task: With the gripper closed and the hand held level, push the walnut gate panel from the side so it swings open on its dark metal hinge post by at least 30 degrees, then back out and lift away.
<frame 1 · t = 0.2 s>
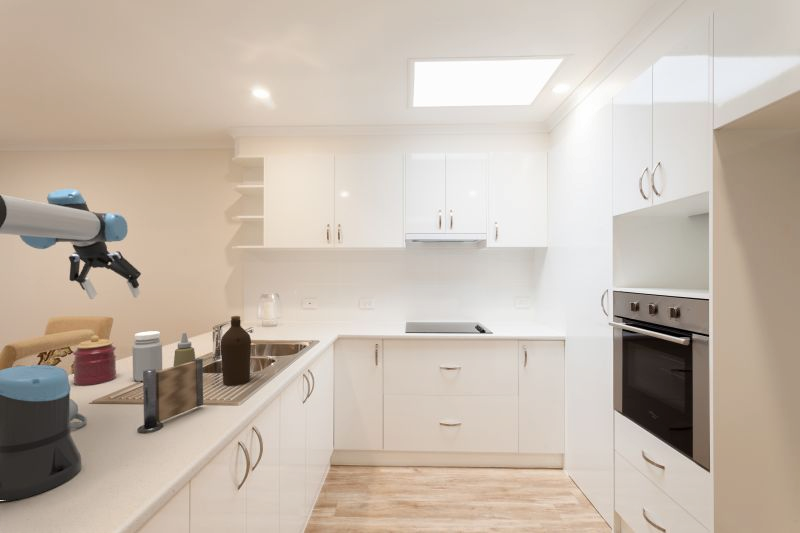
hand: (115, 295, 125), 35 cm above the table, tool tilted 35°, fingers open, 13 cm apart
gate post: (150, 428, 104), on the table
canister: (95, 381, 147), on the table
squeeze bottle: (185, 379, 147), on the table
gate: (180, 388, 112), point 8 cm above the table, hinge at 0.0°
olive oil: (236, 382, 143), on the table
jar: (148, 379, 149), on the table
ceramic mug: (62, 429, 104), on the table
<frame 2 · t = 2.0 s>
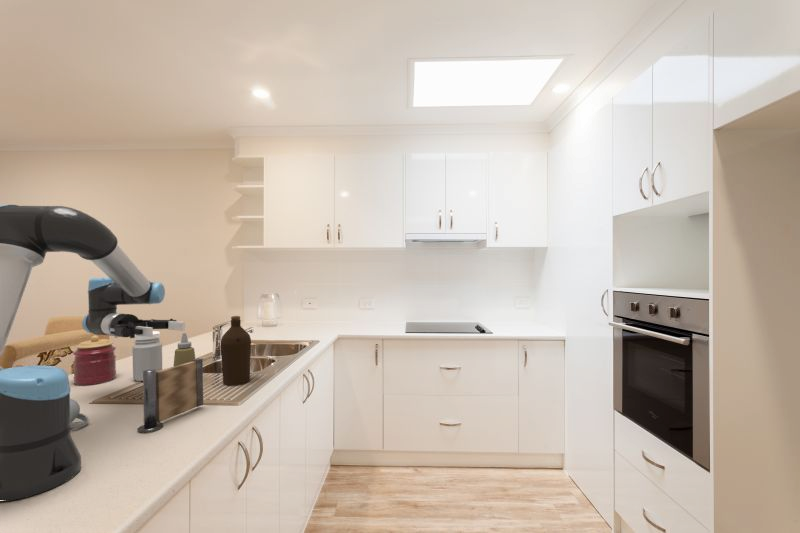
hand: (168, 329, 116), 25 cm above the table, tool horizontal, fingers open, 10 cm apart
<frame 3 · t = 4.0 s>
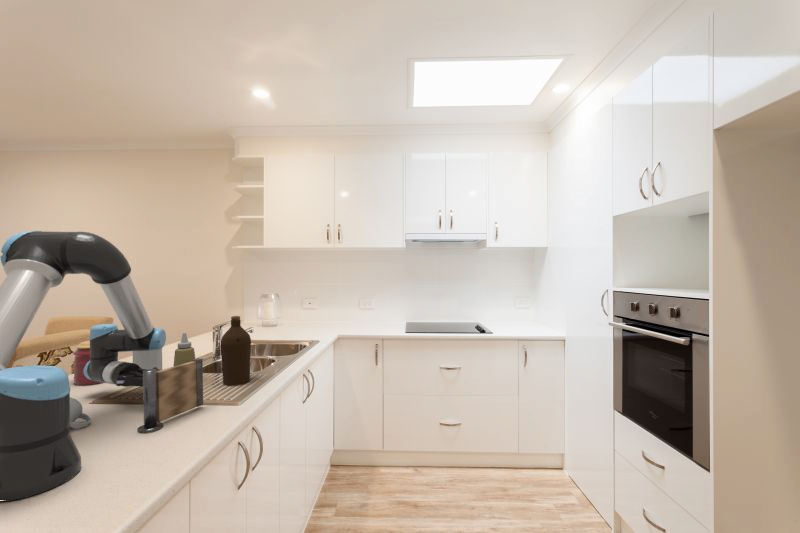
hand: (172, 382, 116), 9 cm above the table, tool horizontal, fingers closed
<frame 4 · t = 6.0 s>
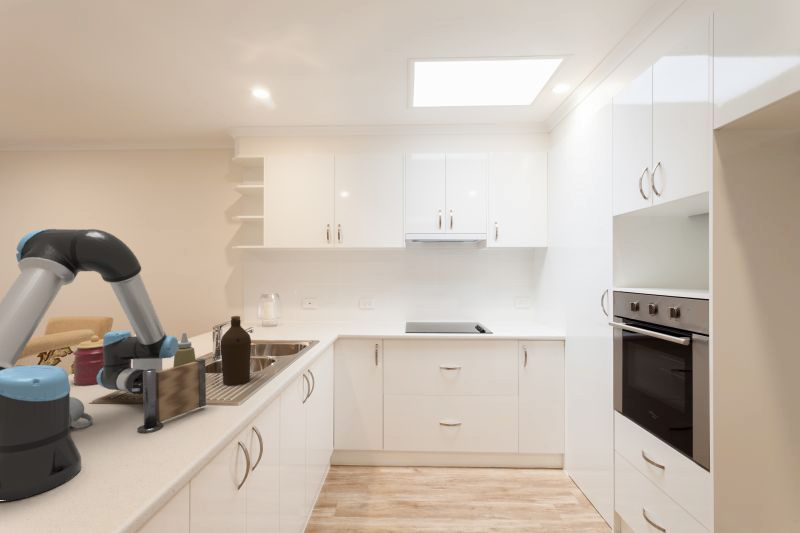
hand: (188, 389, 115), 7 cm above the table, tool horizontal, fingers closed
gate: (181, 388, 111), point 8 cm above the table, hinge at -4.9°, touching gripper
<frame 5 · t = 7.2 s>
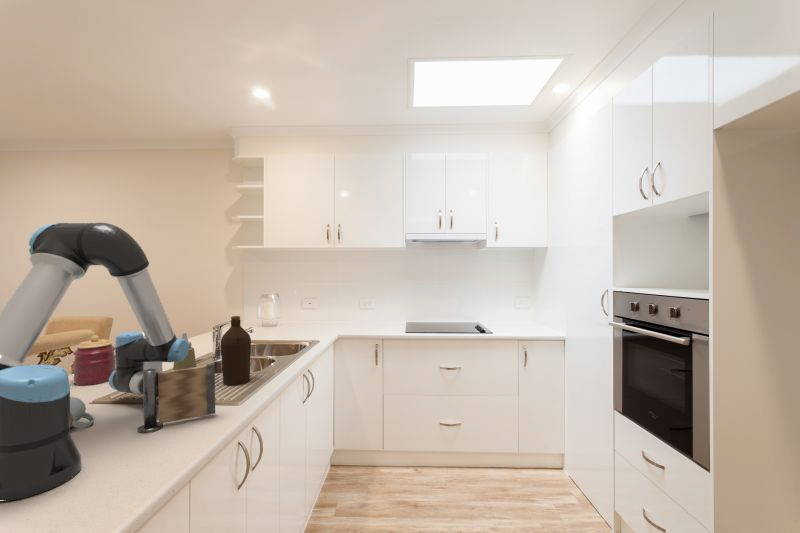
hand: (204, 392, 112), 7 cm above the table, tool horizontal, fingers closed
gate: (187, 392, 108), point 8 cm above the table, hinge at -36.3°, touching gripper
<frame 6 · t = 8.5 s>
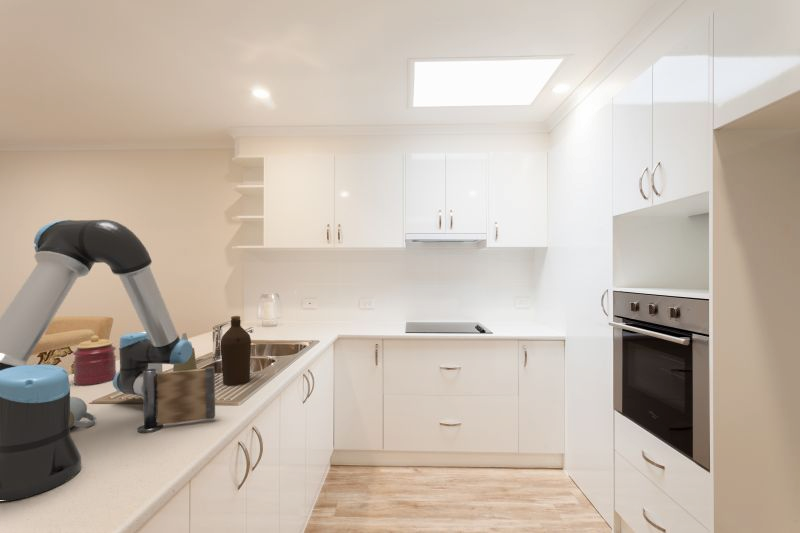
hand: (208, 395, 110), 7 cm above the table, tool horizontal, fingers closed
gate: (186, 394, 106), point 8 cm above the table, hinge at -49.6°, touching gripper
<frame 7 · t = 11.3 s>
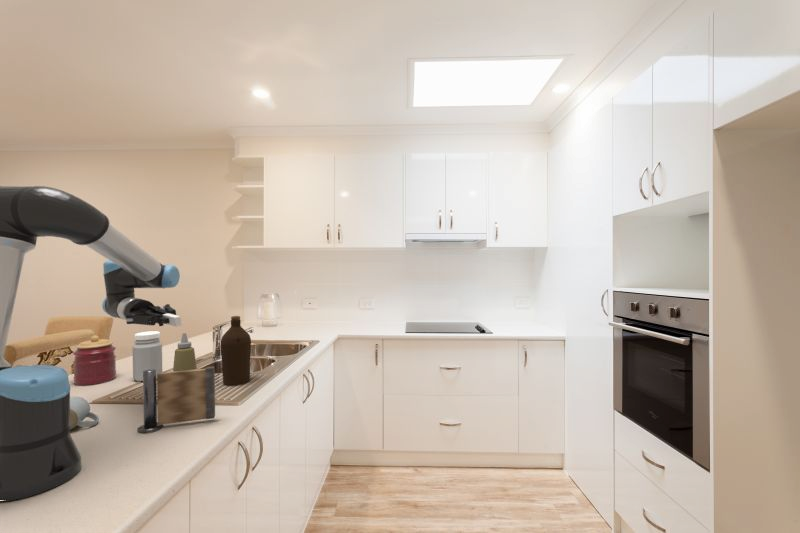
hand: (178, 321, 108), 29 cm above the table, tool horizontal, fingers closed
gate: (186, 394, 106), point 8 cm above the table, hinge at -49.7°
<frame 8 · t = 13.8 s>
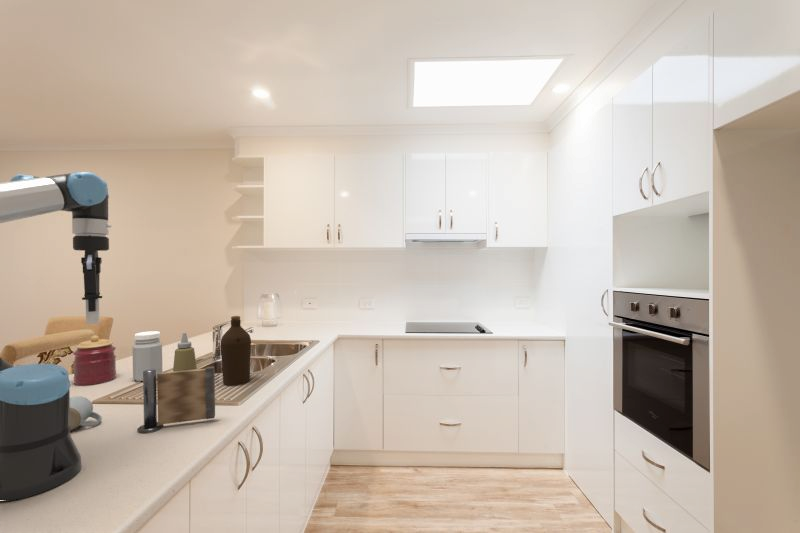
hand: (92, 323, 102), 29 cm above the table, tool pointing down, fingers closed
at the end: gate at -50° (first picture: +0°) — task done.
